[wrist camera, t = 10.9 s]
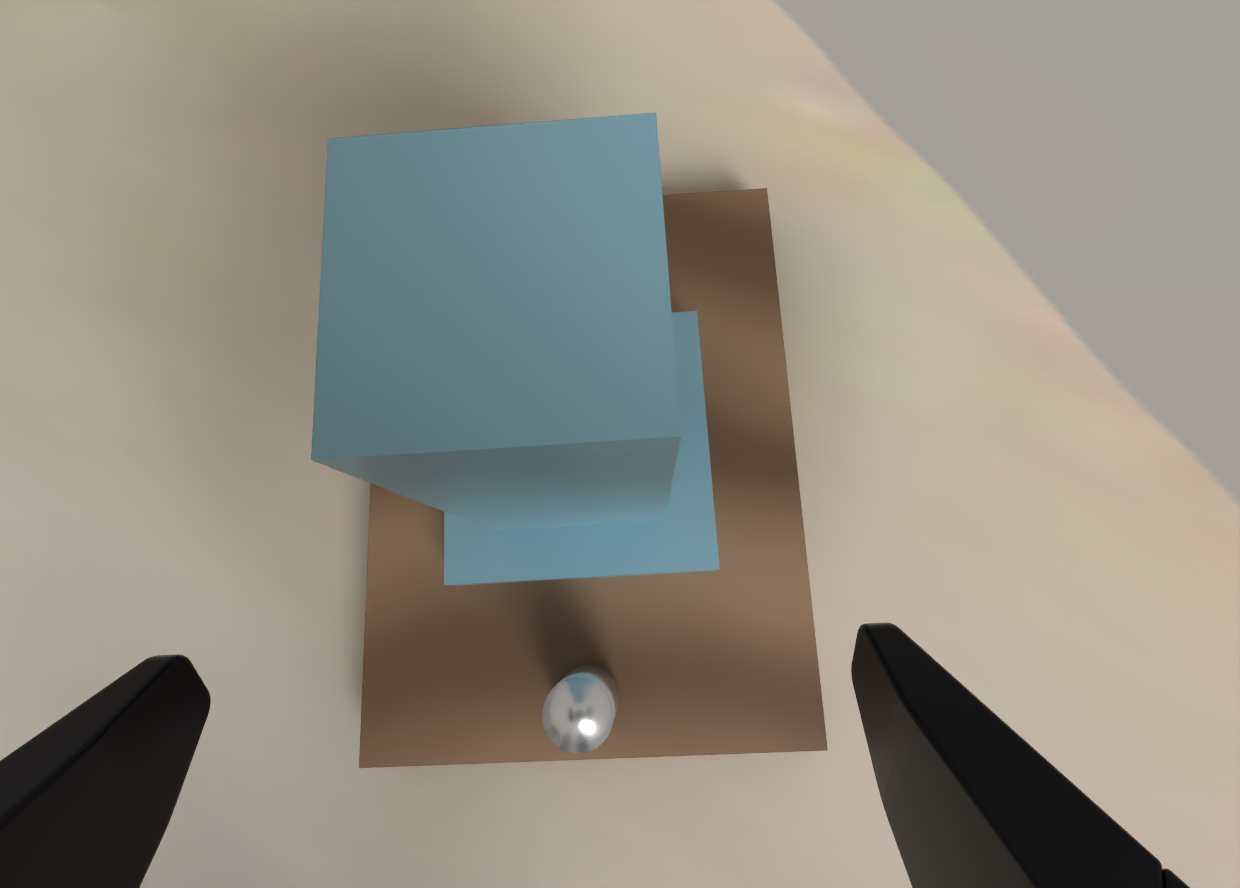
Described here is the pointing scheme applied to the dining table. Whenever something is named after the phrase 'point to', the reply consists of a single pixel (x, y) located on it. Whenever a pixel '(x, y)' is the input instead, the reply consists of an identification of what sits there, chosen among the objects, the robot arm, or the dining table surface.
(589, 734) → the dowel pins
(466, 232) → the stepped blue block
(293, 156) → the dining table surface
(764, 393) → the walnut base plate
